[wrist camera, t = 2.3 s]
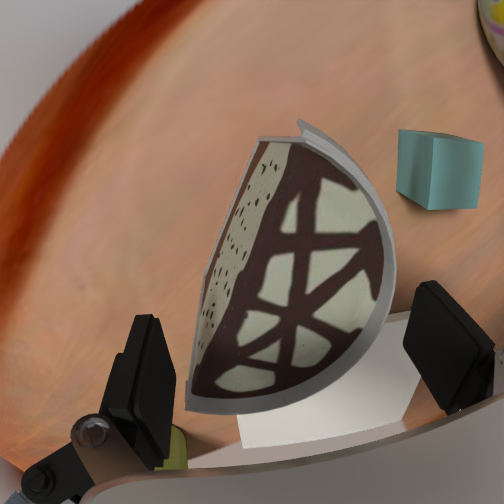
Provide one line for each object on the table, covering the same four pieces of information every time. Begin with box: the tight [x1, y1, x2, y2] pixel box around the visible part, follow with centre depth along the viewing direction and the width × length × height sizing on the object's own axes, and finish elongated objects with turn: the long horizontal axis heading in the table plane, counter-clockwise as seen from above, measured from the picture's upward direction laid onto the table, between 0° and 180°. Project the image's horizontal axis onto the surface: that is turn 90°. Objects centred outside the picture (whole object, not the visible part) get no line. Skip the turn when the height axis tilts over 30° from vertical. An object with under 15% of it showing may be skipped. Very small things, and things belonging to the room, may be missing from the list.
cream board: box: [237, 310, 421, 448], centre depth 26 cm, size 18×16×1 cm
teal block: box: [396, 129, 484, 210], centre depth 16 cm, size 4×4×4 cm
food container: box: [185, 118, 397, 415], centre depth 15 cm, size 12×6×10 cm, turn 158°
